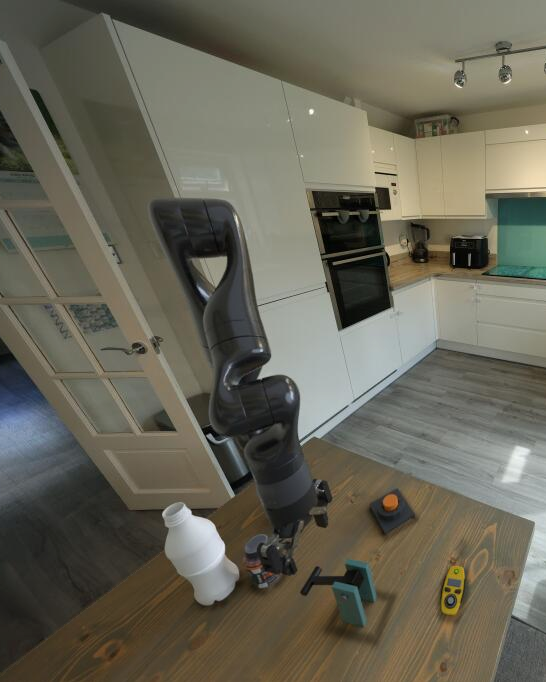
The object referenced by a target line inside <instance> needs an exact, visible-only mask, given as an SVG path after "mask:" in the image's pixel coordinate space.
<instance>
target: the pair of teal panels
mask: <svg viewBox="0 0 546 682" xmlns="http://www.w3.org/2000/svg"><path fill="white" fill-rule="evenodd" d="M344 567H345V570H346V571H347V570H359V571H360V573H361V574H362V576H363V577H364V580H363V582H362V584H361V586H360V588H359V590H358V588H357V587H356V586H352V585H348V584H344V583H339V582H334V584H333V585H331V591H332V592H333V595H334V596H333V597H334V599H335V602H336V606H337V608H338V611H339V614H340V617H341V619H342V622H343V623H346V624H349V625H350V624H351V625H354V626H358V627H362V628H364V627H365V626H366V624H367V617H366V614H365V613H366V612H365V610H364V606H363V603H362V600H363V601H366V602H369V603H375V602H376V600H377V598H378V596H377V592H376V587H375V584H374V579H373V575H372V572H371V566H370V563H369V562H366V561H361V560H358V559H352V558H347V559H346V560H345V562H344Z"/></svg>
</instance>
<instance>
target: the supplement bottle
mask: <svg viewBox="0 0 546 682" xmlns="http://www.w3.org/2000/svg"><path fill="white" fill-rule="evenodd" d="M270 538H271V537H268V535H267V534H265V533H260V534H256V535H255V536H253V537H251V538H250V539H249V540H248V541H246V544H245V545H244V548H243V549H244V553H243V556H242V564H243V566H244V568H245V571H246V573H247V574H248V577H249V579H250V581H251V583H252V585H253V587H254V588H256V589H264V588H268V587H269V586H272V585H273V584H274V583H276V582H277V581H278V580H279V579H280V577H281V576H282V575H283V574H282V573H280V574H279V575H276V574H274V573H270V572H265V571H264V570H263V567H262V564H261V561H260V559H259V556H258V553H257V547H258V545H259V544H260V543H262V542H263V543H266V542H267V541H268V540H269V539H270Z"/></svg>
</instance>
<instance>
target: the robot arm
mask: <svg viewBox="0 0 546 682" xmlns="http://www.w3.org/2000/svg"><path fill="white" fill-rule="evenodd" d="M147 214H148V218H149V222H150V224H151V229H152V230H153V233H154V235H155V237H156V240H157V242H158V244H159V246H160V248H161V251H162V252H163V255H164V257H165V259H166V261H167V263H168V265H169V268H170V270H171V272H172V274H173V276H174V278H175V280H176V283H177V285H178V287H179V289H180V291H181V293H182V295H183V298H184V300H185V303H186V306H187V308H188V311H189V314H190V317H191V320H192V323H193V325H194V329H195V332H196V335H197V338H198V340H199V345H200V346H201V348H202V351H203V354H204V357H205V359H206V362H207V363H208V366H209V369H210V370H211V373H212V382H211V389H210V395H209V402H208V420H209V423H210V424H209V425H210V426H211V428H212V429H213V431H214V432H215V433H216V434H217V435H219V436H221V437H223V438H225V439H234V440H235V442H236V444H237V445H238V447H239V448H240V449H241V450H242V451H243V455H244V459H245V462H246V465H247V466H248V469H249V471H250V474H251V476H252V479H253V483H254V489H255V492H256V495H257V497H258V499H259V501H260V504H261V506H262V509H263V511H264V513H265V516H266V518H267V521H268V522H269V523H270V525H272V535H271V536H270V537H269V538H270V539H269V540H268V541H267V542H266V543H263V542H262V543H260V544H259V545H258V547H257V553H258V556H259V559H260V561H261V564H262V567H263V570H264V571H265V572H270V573H274V574H276V575H279V574H280V573H282V575H285V576H288V577H291V576H294V575H296V573H297V572H298V568H297V567H298V566H297V565H296V562H295V559H294V558H293V555H294V550H295V549H296V548H297V547H298V545H299V541H300V536H301V534H303V531H304V529H305V528H306V527H307V525H309V523H310V522H311V521H312V518H313V519H314V522H315V525H316V526H317V527H318V528H322V529H326V528H328V526H329V515H328V513H327V512H328V504H331V503H332V502H333V494H332V492H331V489H330V485H329V484H328V481H327V480H326V479H325V480H324V479H319V478H313V475H312V472H311V469H310V465H309V463H308V461H307V460H306V458H305V456H304V451H303V449H302V445H301V441H300V438H299V418H300V410H301V392H300V388H299V386H298V384H297V382H296V381H295V380H294V379H292V378H291V377H290V376H288V375H287V374H280V373H279V374H274V375H273V374H272V375H268V376H264V377H261V378H259V377H260V374H261V373H262V370H263V368H264V366H265V365H267V364H268V363H269V362H270V361H271V359H272V355H273V354H272V349H271V345H270V342H269V339H268V336H267V333H266V329H265V327H264V324H263V321H262V318H261V314H260V310H259V306H258V301H257V295H256V288H255V280H254V274H253V269H252V263H251V258H250V252H249V248H248V243H247V239H246V234H245V230H244V227H243V224H242V221H241V218H240V216H239V213H238V211H237V210H236V208H235V207H234V205H233V204H232V203H231V202H229V201H227V200H225V199H221V198H209V197H205V198H202V197H164V196H163V197H159V196H158V197H152V198H150V200H149V201H148V203H147ZM215 258H226V266H225V270H224V272H223V273H222V276H221V278H220V280H219V282H218V284H217V286H216V287H215V285H214V284H212V283H211V282H210V280H208V278H207V277H206V276H205V275H204V274H203V272H202V271H201V270H200V268H199V267H198V265H197V264H196V262H195V261H194V260H200V259H201V260H203V259H215ZM317 501H318V502H317ZM316 502H317V503H316ZM286 539H291V541H289V540H286ZM284 550H285V554H284V553H283V552H284Z"/></svg>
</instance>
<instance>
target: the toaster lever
mask: <svg viewBox="0 0 546 682" xmlns="http://www.w3.org/2000/svg"><path fill="white" fill-rule="evenodd" d="M322 571H323V569H322V567H321V566H319V565H316V566H315V567H314V568H313V570H312V572H311V574H310V575H309V577H308V578H307V580H305V581H306V582H305V583H304V584H303V586H302V588H301V590H300V591H299V594H300V595H302V596H303V597H307V596H308V594H309V593H310V592H311V590H312V588H313V586H333V584H334V582H339V583H344V584H348V585H352V586H356V587H357V588H358V590H359V588H360V586H361V584H362V582H363V580H364V577H363V576H362V574H361V573H360V571H359V570H346V571H345V572H344V574H343V575H320V574H321V573H322Z"/></svg>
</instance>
